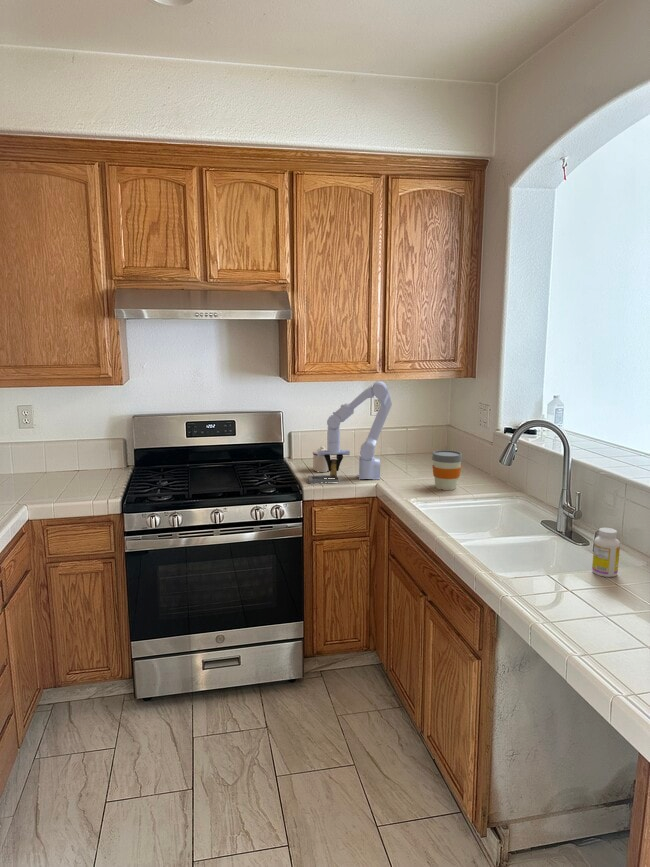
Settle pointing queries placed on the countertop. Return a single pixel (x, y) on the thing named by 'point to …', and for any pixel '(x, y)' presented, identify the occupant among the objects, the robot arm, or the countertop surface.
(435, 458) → the reusable coffee cup
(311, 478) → the keyhole plate
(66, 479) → the countertop surface
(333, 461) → the peg
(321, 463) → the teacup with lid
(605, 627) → the countertop surface
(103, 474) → the countertop surface
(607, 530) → the supplement bottle
